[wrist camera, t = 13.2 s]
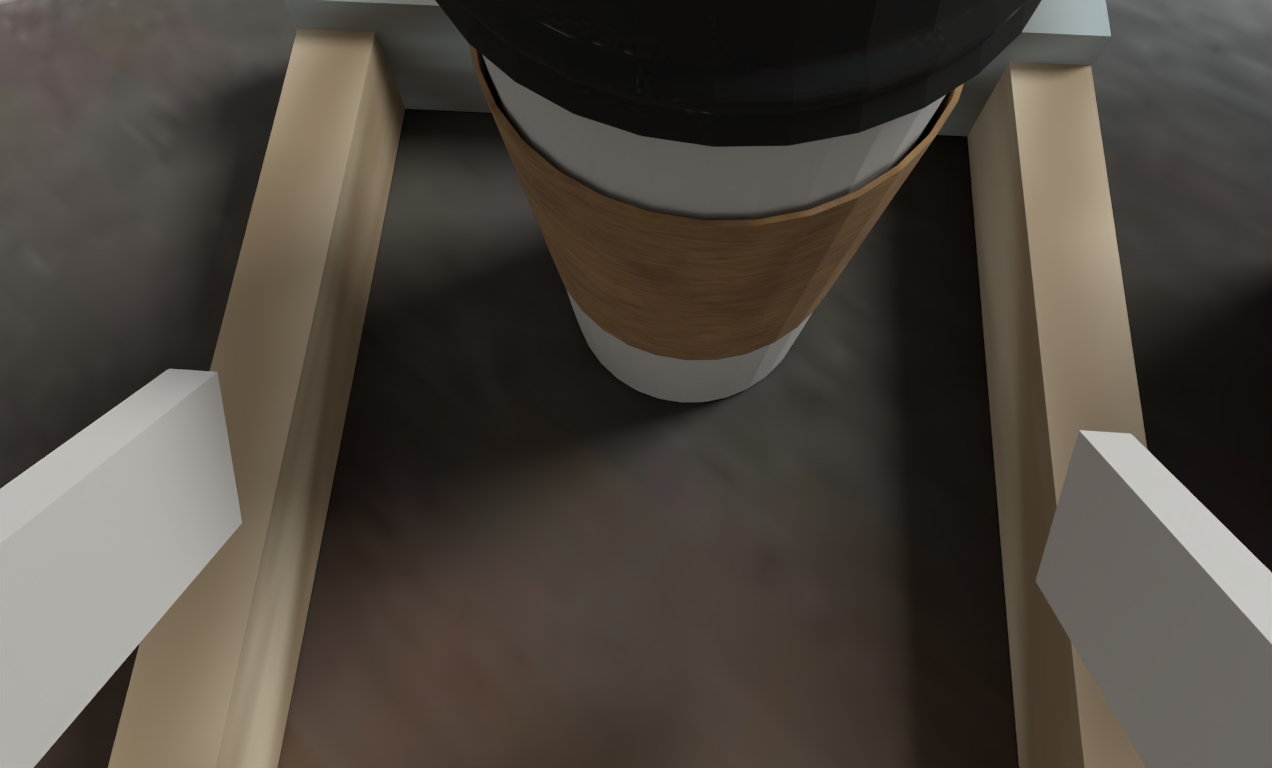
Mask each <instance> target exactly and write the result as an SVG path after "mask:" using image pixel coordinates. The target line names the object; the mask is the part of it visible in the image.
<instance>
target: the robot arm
mask: <svg viewBox="0 0 1272 768" xmlns="http://www.w3.org/2000/svg"><path fill="white" fill-rule="evenodd" d="M241 524H242V519H241V512H240V506H239V500H238V494H237V488H236V482H235V476H234V470H233V463H232V457H231V451H230V445H229V439H228V433H227V427H226V421H225V415H224V408H223V402H222V396H221V390H220V384H219V378H218V372H212V371H197V370H182V369H168V370H166V371H165V372H163V373H162V374H161V375H159V376H158V377H156V378H155V379H154V380H152V381H151V382H149V383H148V384H147V385H145V386H144V387H142V388H141V389H140V390H138V391H137V392H135V393H134V394H133V395H131V396H130V397H128V398H127V399H126V400H124V401H123V402H121V403H120V404H119V405H117V406H116V407H114V408H113V409H112V410H110V411H109V412H107V413H106V414H105V415H103V416H102V417H100V418H99V419H97V420H96V421H95V422H93V423H92V424H90V425H89V426H88V427H86V428H85V429H83V430H82V431H81V432H79V433H78V434H76V435H75V436H74V437H72V438H71V439H69V440H68V441H67V442H65V443H64V444H62V445H61V446H60V447H58V448H57V449H55V450H54V451H53V452H51V453H50V454H48V455H47V456H46V457H44V458H43V459H41V460H40V461H39V462H37V463H36V464H34V465H33V466H32V467H30V468H29V469H27V470H26V471H24V472H23V473H22V474H20V475H19V476H17V477H16V478H15V479H13V480H12V481H10V482H9V483H8V484H6V485H5V486H3V487H2V488H1V489H0V768H34V767H35V765H36V764H37V763H38V762H39V761H40V760H41V758H42V757H43V756H44V755H45V754H46V752H47V751H48V750H49V749H50V748H51V747H52V745H53V744H54V743H55V742H56V741H57V740H58V738H59V737H60V736H61V735H62V734H63V733H64V731H65V730H66V729H67V728H68V727H69V725H70V724H71V723H72V722H73V721H74V720H75V718H76V717H77V716H78V715H79V714H80V713H81V711H82V710H83V709H84V708H85V707H86V706H87V704H88V703H89V702H90V701H91V700H92V699H93V697H94V696H95V695H96V694H97V693H98V691H99V690H100V689H101V688H102V687H103V686H104V684H105V683H106V682H107V681H108V680H109V679H110V677H111V676H112V675H113V674H114V673H115V672H116V670H117V669H118V668H119V667H120V666H121V664H122V663H123V662H124V661H125V660H126V659H127V657H128V656H129V655H130V654H131V653H132V652H133V650H134V649H135V648H136V647H137V646H138V645H139V643H140V642H141V641H142V640H143V639H144V637H145V636H146V635H147V634H148V633H149V632H150V630H151V629H152V628H153V627H154V626H155V625H156V623H157V622H158V621H159V620H160V619H161V618H162V616H163V615H164V614H165V613H166V612H167V611H168V609H169V608H170V607H171V606H172V605H173V603H174V602H175V601H176V600H177V599H178V598H179V596H180V595H181V594H182V593H183V592H184V591H185V589H186V588H187V587H188V586H189V585H190V584H191V582H192V581H193V580H194V579H195V578H196V576H197V575H198V574H199V573H200V572H201V571H202V569H203V568H204V567H205V566H206V565H207V564H208V562H209V561H210V560H211V559H212V558H213V557H214V555H215V554H216V553H217V552H218V551H219V549H220V548H221V547H222V546H223V545H224V544H225V542H226V541H227V540H228V539H229V538H230V537H231V535H232V534H233V533H234V532H235V531H236V530H237V528H238V527H239V526H240V525H241ZM1036 583H1037V584H1038V586H1039V588H1040V589H1041V591H1042V593H1043V594H1044V596H1045V598H1046V600H1047V601H1048V603H1049V605H1050V606H1051V608H1052V610H1053V611H1054V613H1055V615H1056V616H1057V618H1058V620H1059V621H1060V623H1061V625H1062V627H1063V628H1064V630H1065V632H1066V633H1067V635H1068V637H1069V638H1070V640H1071V642H1072V643H1073V645H1074V647H1075V648H1076V650H1077V652H1078V654H1079V655H1080V657H1081V659H1082V660H1083V662H1084V664H1085V665H1086V667H1087V669H1088V670H1089V672H1090V674H1091V675H1092V677H1093V679H1094V681H1095V682H1096V684H1097V686H1098V687H1099V689H1100V691H1101V692H1102V694H1103V696H1104V697H1105V699H1106V701H1107V702H1108V704H1109V706H1110V708H1111V709H1112V711H1113V713H1114V714H1115V716H1116V718H1117V719H1118V721H1119V723H1120V724H1121V726H1122V728H1123V729H1124V731H1125V733H1126V735H1127V736H1128V738H1129V740H1130V741H1131V743H1132V745H1133V746H1134V748H1135V750H1136V751H1137V753H1138V755H1139V757H1140V758H1141V760H1142V762H1143V763H1144V765H1145V767H1146V768H1272V572H1271V571H1270V570H1269V569H1268V568H1267V567H1266V566H1265V565H1264V564H1263V563H1261V562H1260V561H1259V560H1258V559H1257V558H1256V557H1255V556H1254V555H1253V554H1252V553H1251V552H1250V551H1249V550H1248V549H1247V548H1246V547H1245V546H1244V545H1243V544H1242V543H1241V542H1240V541H1239V540H1238V539H1237V538H1236V537H1235V536H1234V535H1233V534H1232V533H1231V532H1230V531H1229V530H1228V529H1227V528H1226V527H1225V526H1224V525H1223V524H1222V523H1221V522H1220V521H1219V520H1218V519H1217V518H1216V517H1215V516H1214V515H1213V514H1212V513H1211V512H1210V511H1209V510H1208V509H1207V508H1206V507H1205V506H1204V505H1203V504H1202V503H1201V502H1200V501H1199V500H1198V499H1197V498H1196V497H1195V496H1194V495H1193V494H1192V493H1191V492H1190V491H1189V490H1188V489H1187V488H1186V487H1185V486H1184V485H1183V484H1182V483H1181V482H1180V481H1179V480H1178V479H1177V478H1175V477H1174V476H1173V475H1172V474H1171V473H1170V472H1169V471H1168V470H1167V469H1166V468H1165V467H1164V466H1163V465H1162V464H1161V463H1160V462H1159V461H1158V460H1157V459H1156V458H1155V457H1154V456H1153V455H1152V454H1151V453H1150V452H1149V451H1148V450H1147V449H1146V448H1145V447H1144V446H1143V445H1142V444H1141V443H1140V442H1139V441H1138V440H1137V439H1136V438H1135V437H1134V436H1133V435H1132V434H1130V433H1115V432H1100V431H1085V430H1079V432H1078V436H1077V439H1076V442H1075V446H1074V449H1073V453H1072V456H1071V460H1070V463H1069V467H1068V470H1067V474H1066V477H1065V481H1064V484H1063V487H1062V491H1061V494H1060V498H1059V501H1058V505H1057V508H1056V512H1055V515H1054V519H1053V522H1052V526H1051V529H1050V532H1049V536H1048V539H1047V543H1046V546H1045V550H1044V553H1043V557H1042V560H1041V564H1040V567H1039V570H1038V574H1037V577H1036Z"/></svg>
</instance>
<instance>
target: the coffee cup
mask: <svg viewBox="0 0 1272 768" xmlns="http://www.w3.org/2000/svg"><path fill="white" fill-rule="evenodd" d="M435 1H436V2H437V3H438V5H439V6H440V7H441V8H442V10H443V11H444V12H445V14H446V15H447V16H448V17H449V19H450V20H451V21H452V23H453V24H454V25H455V27H456V28H457V29H458V30H459V32H460V33H461V34H462V36H463V37H464V38H465V39H466V41H467V42H468V43H469V46H470V52H471V58H472V63H473V69H474V72H475V74H476V77H477V79H478V82H479V84H480V86H481V89H482V91H483V94H484V96H485V98H486V101H487V103H488V105H489V108H490V110H491V113H492V115H493V117H494V120H495V122H496V125H497V127H498V129H499V132H500V134H501V137H502V139H503V141H504V144H505V146H506V148H507V151H508V153H509V156H510V158H511V160H512V163H513V165H514V168H515V170H516V172H517V175H518V177H519V180H520V182H521V184H522V187H523V189H524V191H525V194H526V196H527V199H528V201H529V203H530V206H531V208H532V211H533V213H534V215H535V218H536V220H537V222H538V225H539V227H540V230H541V232H542V234H543V237H544V239H545V242H546V244H547V246H548V249H549V251H550V254H551V256H552V258H553V261H554V263H555V265H556V268H557V270H558V272H559V274H560V277H561V279H562V281H563V283H564V286H565V288H566V290H567V293H568V296H569V299H570V302H571V304H572V307H573V310H574V313H575V316H576V318H577V321H578V324H579V326H580V328H581V330H582V333H583V335H584V337H585V339H586V342H587V344H588V346H589V347H590V349H591V350H592V351H593V353H594V354H595V356H596V357H597V358H598V360H599V361H600V363H601V364H602V365H603V366H604V367H605V368H606V369H608V370H609V371H610V372H611V373H612V374H613V375H614V376H615V377H616V378H617V379H619V380H620V381H622V382H624V383H625V384H627V385H629V386H630V387H632V388H633V389H635V390H637V391H639V392H642V393H645V394H647V395H650V396H653V397H656V398H658V399H664V400H670V401H676V402H707V401H712V400H717V399H722V398H727V397H729V396H732V395H734V394H736V393H739V392H741V391H744V390H746V389H748V388H750V387H751V386H753V385H754V384H756V383H757V382H759V381H760V380H762V379H763V378H765V377H766V376H767V375H768V374H769V373H770V372H771V371H772V370H773V369H774V368H775V367H776V366H777V365H778V364H779V363H780V362H781V361H782V360H783V358H784V357H785V355H786V354H787V352H788V351H789V349H790V347H791V346H792V344H793V343H794V341H795V340H796V338H797V337H798V335H799V333H800V332H801V330H802V329H803V327H804V325H805V324H806V322H807V320H808V319H809V317H810V316H811V314H812V312H813V311H814V310H815V309H816V308H817V307H818V306H819V304H820V303H821V301H822V300H823V298H824V297H825V295H826V294H827V293H828V291H829V290H830V288H831V287H832V285H833V284H834V282H835V281H836V280H837V278H838V277H839V275H840V274H841V272H842V271H843V269H844V268H845V267H846V265H847V264H848V262H849V261H850V259H851V258H852V256H853V255H854V254H855V252H856V251H857V249H858V248H859V246H860V245H861V243H862V242H863V241H864V239H865V238H866V236H867V235H868V233H869V232H870V230H871V229H872V228H873V226H874V225H875V223H876V222H877V220H878V219H879V217H880V216H881V215H882V213H883V212H884V210H885V209H886V207H887V206H888V204H889V203H890V202H891V200H892V199H893V197H894V196H895V194H896V193H897V191H898V190H899V189H900V187H901V186H902V184H903V183H904V181H905V180H906V178H907V177H908V176H909V174H910V173H911V171H912V170H913V168H914V167H915V165H916V164H917V163H918V161H919V160H920V158H921V157H922V155H923V154H924V152H925V151H926V150H927V148H928V147H929V145H930V144H931V142H932V141H933V140H934V138H935V137H936V135H937V133H938V132H939V130H940V129H941V127H942V126H943V124H944V122H945V121H946V119H947V118H948V116H949V115H950V113H951V112H952V110H953V108H954V107H955V105H956V104H957V102H958V100H959V97H960V94H961V91H962V88H963V85H964V83H965V82H967V81H968V80H970V79H972V78H973V77H975V76H976V75H978V74H979V73H980V72H981V71H982V70H983V69H984V68H985V67H986V66H987V65H989V64H990V63H991V62H992V61H993V60H994V59H995V58H996V57H997V56H998V55H999V54H1000V53H1001V52H1002V51H1003V50H1004V49H1005V48H1006V47H1007V46H1008V45H1009V44H1010V43H1011V42H1012V41H1013V40H1014V39H1015V38H1017V37H1018V36H1019V35H1020V34H1021V32H1022V31H1023V29H1024V28H1025V26H1026V24H1027V23H1028V21H1029V20H1030V18H1031V17H1032V15H1033V13H1034V12H1035V10H1036V9H1037V7H1038V5H1039V4H1040V2H1041V1H1042V0H435Z"/></svg>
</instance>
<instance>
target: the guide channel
mask: <svg viewBox="0 0 1272 768" xmlns="http://www.w3.org/2000/svg"><path fill="white" fill-rule="evenodd" d="M284 2H285V4H286V6H287V8H288V10H289V12H290V14H291V16H292V18H293V20H294V22H295V24H296V26H297V28H298V30H297V34H296V37H295V41H294V45H293V49H292V53H291V57H290V61H289V65H288V69H287V72H286V76H285V80H284V84H283V88H282V92H281V96H280V100H279V104H278V107H277V111H276V115H275V119H274V123H273V127H272V131H271V135H270V139H269V142H268V146H267V150H266V154H265V158H264V162H263V166H262V170H261V174H260V178H259V181H258V185H257V189H256V193H255V197H254V201H253V205H252V209H251V213H250V216H249V220H248V224H247V228H246V232H245V236H244V240H243V244H242V248H241V251H240V255H239V259H238V263H237V267H236V271H235V275H234V279H233V283H232V286H231V290H230V294H229V298H228V302H227V306H226V310H225V314H224V318H223V321H222V325H221V329H220V333H219V337H218V341H217V345H216V349H215V353H214V356H213V360H212V364H211V368H210V371H212V372H218V378H219V384H220V390H221V396H222V402H223V408H224V415H225V421H226V427H227V433H228V439H229V445H230V451H231V457H232V463H233V470H234V476H235V482H236V488H237V494H238V500H239V506H240V512H241V519H242V524H241V525H240V526H239V527H238V528H237V530H236V531H235V532H234V533H233V534H232V535H231V537H230V538H229V539H228V540H227V541H226V542H225V544H224V545H223V546H222V547H221V548H220V549H219V551H218V552H217V553H216V554H215V555H214V557H213V558H212V559H211V560H210V561H209V562H208V564H207V565H206V566H205V567H204V568H203V569H202V571H201V572H200V573H199V574H198V575H197V576H196V578H195V579H194V580H193V581H192V582H191V584H190V585H189V586H188V587H187V588H186V589H185V591H184V592H183V593H182V594H181V595H180V596H179V598H178V599H177V600H176V601H175V602H174V603H173V605H172V606H171V607H170V608H169V609H168V611H167V612H166V613H165V614H164V615H163V616H162V618H161V619H160V620H159V621H158V622H157V623H156V625H155V626H154V627H153V628H152V629H151V630H150V632H149V633H148V634H147V635H146V636H145V637H144V639H143V640H142V641H141V642H140V644H139V648H138V652H137V656H136V660H135V664H134V668H133V672H132V675H131V679H130V683H129V687H128V691H127V695H126V699H125V703H124V707H123V710H122V714H121V718H120V722H119V726H118V730H117V734H116V738H115V742H114V745H113V749H112V753H111V757H110V761H109V765H108V768H278V763H279V758H280V753H281V747H282V742H283V737H284V732H285V727H286V722H287V716H288V711H289V706H290V701H291V696H292V691H293V686H294V680H295V675H296V670H297V665H298V660H299V655H300V649H301V644H302V639H303V634H304V629H305V624H306V618H307V613H308V608H309V603H310V598H311V593H312V588H313V582H314V577H315V572H316V567H317V562H318V557H319V551H320V546H321V541H322V536H323V531H324V526H325V521H326V515H327V510H328V505H329V500H330V495H331V490H332V484H333V479H334V474H335V469H336V464H337V459H338V453H339V448H340V443H341V438H342V433H343V428H344V423H345V417H346V412H347V407H348V402H349V397H350V392H351V386H352V381H353V376H354V371H355V366H356V361H357V355H358V350H359V345H360V340H361V335H362V330H363V325H364V319H365V314H366V309H367V304H368V299H369V294H370V288H371V283H372V278H373V273H374V268H375V263H376V258H377V252H378V247H379V242H380V237H381V232H382V227H383V221H384V216H385V211H386V206H387V201H388V196H389V190H390V185H391V180H392V175H393V170H394V165H395V160H396V154H397V149H398V144H399V139H400V134H401V129H402V123H403V118H404V113H405V109H423V110H443V111H463V112H483V113H491V110H490V108H489V105H488V103H487V101H486V98H485V96H484V94H483V91H482V89H481V86H480V84H479V82H478V79H477V77H476V74H475V72H474V69H473V63H472V58H471V52H470V46H469V43H468V42H467V41H466V39H465V38H464V37H463V36H462V34H461V33H460V32H459V30H458V29H457V28H456V27H455V25H454V24H453V23H452V21H451V20H450V19H449V17H448V16H447V15H446V14H445V12H444V11H443V10H442V8H441V7H440V6H439V5H438V3H437V2H436V1H435V0H284ZM1110 37H1111V32H1110V26H1109V20H1108V13H1107V7H1106V1H1105V0H1042V1H1041V2H1040V4H1039V5H1038V7H1037V9H1036V10H1035V12H1034V13H1033V15H1032V17H1031V18H1030V20H1029V21H1028V23H1027V24H1026V26H1025V28H1024V29H1023V31H1022V32H1021V34H1020V35H1019V36H1018V37H1017V38H1015V39H1014V40H1013V41H1012V42H1011V43H1010V44H1009V45H1008V46H1007V47H1006V48H1005V49H1004V50H1003V51H1002V52H1001V53H1000V54H999V55H998V56H997V57H996V58H995V59H994V60H993V61H992V62H991V63H990V64H989V65H987V66H986V67H985V68H984V69H983V70H982V71H981V72H980V73H979V74H978V75H976V76H975V77H973V78H972V79H970V80H968V81H967V82H965V83H964V85H963V88H962V91H961V94H960V97H959V100H958V102H957V104H956V105H955V107H954V108H953V110H952V112H951V113H950V115H949V116H948V118H947V119H946V121H945V122H944V124H943V126H942V127H941V129H940V130H939V132H938V133H937V135H949V136H967V137H968V149H969V161H970V174H971V186H972V198H973V210H974V223H975V235H976V247H977V259H978V271H979V284H980V296H981V308H982V320H983V332H984V345H985V357H986V369H987V381H988V393H989V406H990V418H991V430H992V442H993V454H994V467H995V479H996V491H997V503H998V515H999V528H1000V540H1001V552H1002V564H1003V577H1004V589H1005V601H1006V613H1007V625H1008V638H1009V650H1010V662H1011V674H1012V686H1013V699H1014V711H1015V723H1016V735H1017V747H1018V760H1019V768H1146V767H1145V765H1144V763H1143V762H1142V760H1141V758H1140V757H1139V755H1138V753H1137V751H1136V750H1135V748H1134V746H1133V745H1132V743H1131V741H1130V740H1129V738H1128V736H1127V735H1126V733H1125V731H1124V729H1123V728H1122V726H1121V724H1120V723H1119V721H1118V719H1117V718H1116V716H1115V714H1114V713H1113V711H1112V709H1111V708H1110V706H1109V704H1108V702H1107V701H1106V699H1105V697H1104V696H1103V694H1102V692H1101V691H1100V689H1099V687H1098V686H1097V684H1096V682H1095V681H1094V679H1093V677H1092V675H1091V674H1090V672H1089V670H1088V669H1087V667H1086V665H1085V664H1084V662H1083V660H1082V659H1081V657H1080V655H1079V654H1078V652H1077V650H1076V648H1075V647H1074V645H1073V643H1072V642H1071V640H1070V638H1069V637H1068V635H1067V633H1066V632H1065V630H1064V628H1063V627H1062V625H1061V623H1060V621H1059V620H1058V618H1057V616H1056V615H1055V613H1054V611H1053V610H1052V608H1051V606H1050V605H1049V603H1048V601H1047V600H1046V598H1045V596H1044V594H1043V593H1042V591H1041V589H1040V588H1039V586H1038V584H1037V583H1036V577H1037V574H1038V570H1039V567H1040V564H1041V560H1042V557H1043V553H1044V550H1045V546H1046V543H1047V539H1048V536H1049V532H1050V529H1051V526H1052V522H1053V519H1054V515H1055V512H1056V508H1057V505H1058V501H1059V498H1060V494H1061V491H1062V487H1063V484H1064V481H1065V477H1066V474H1067V470H1068V467H1069V463H1070V460H1071V456H1072V453H1073V449H1074V446H1075V442H1076V439H1077V436H1078V432H1079V430H1085V431H1100V432H1115V433H1130V434H1132V435H1133V436H1134V437H1135V438H1136V439H1137V440H1138V441H1139V442H1140V443H1141V444H1142V445H1143V446H1144V447H1145V448H1146V449H1147V444H1146V437H1145V431H1144V424H1143V417H1142V410H1141V403H1140V397H1139V390H1138V383H1137V376H1136V369H1135V362H1134V356H1133V349H1132V342H1131V335H1130V328H1129V322H1128V315H1127V308H1126V301H1125V294H1124V288H1123V281H1122V274H1121V267H1120V260H1119V254H1118V247H1117V240H1116V233H1115V226H1114V220H1113V213H1112V206H1111V199H1110V192H1109V186H1108V179H1107V172H1106V165H1105V158H1104V152H1103V145H1102V138H1101V131H1100V124H1099V118H1098V111H1097V104H1096V97H1095V90H1094V84H1093V77H1092V70H1091V65H1092V63H1093V62H1094V60H1095V59H1096V57H1097V56H1098V55H1099V53H1100V52H1101V50H1102V49H1103V47H1104V46H1105V44H1106V43H1107V42H1108V40H1109V39H1110Z"/></svg>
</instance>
